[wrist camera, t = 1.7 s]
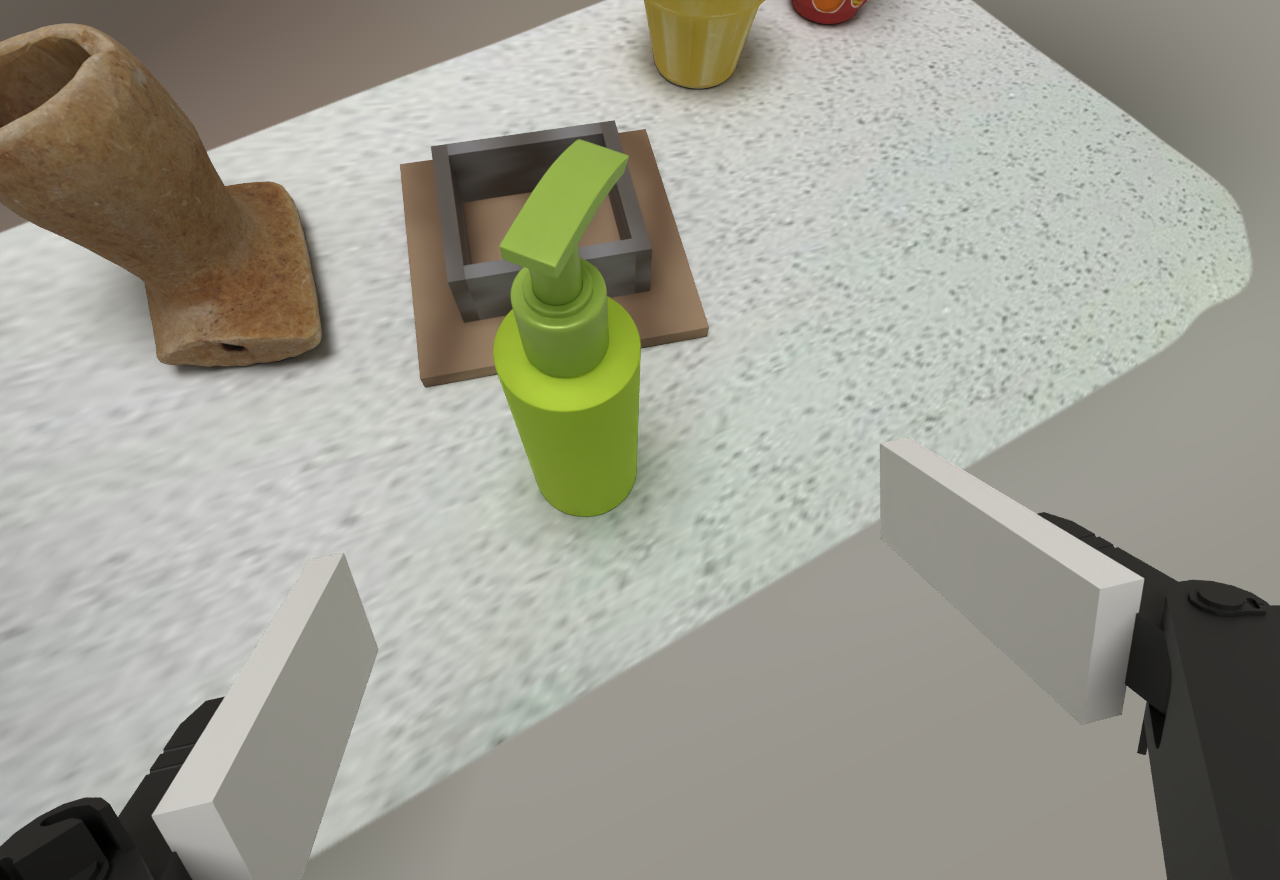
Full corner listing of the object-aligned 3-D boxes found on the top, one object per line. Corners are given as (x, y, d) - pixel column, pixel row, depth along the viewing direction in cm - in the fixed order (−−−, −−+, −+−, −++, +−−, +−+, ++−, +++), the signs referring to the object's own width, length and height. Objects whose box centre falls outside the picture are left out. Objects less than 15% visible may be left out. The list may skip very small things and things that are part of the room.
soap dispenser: (659, 431, 38) (687, 161, 20) (610, 533, 36) (593, 328, 18) (571, 395, 39) (523, 107, 21) (517, 492, 37) (409, 257, 18)
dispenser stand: (425, 387, 39) (398, 342, 35) (404, 175, 47) (380, 115, 42) (707, 336, 41) (716, 287, 37) (645, 140, 49) (646, 79, 44)
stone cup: (129, 229, 44) (-93, 4, 31) (305, 188, 46) (170, -41, 32) (136, 414, 38) (-135, 239, 25) (337, 359, 40) (188, 167, 27)
